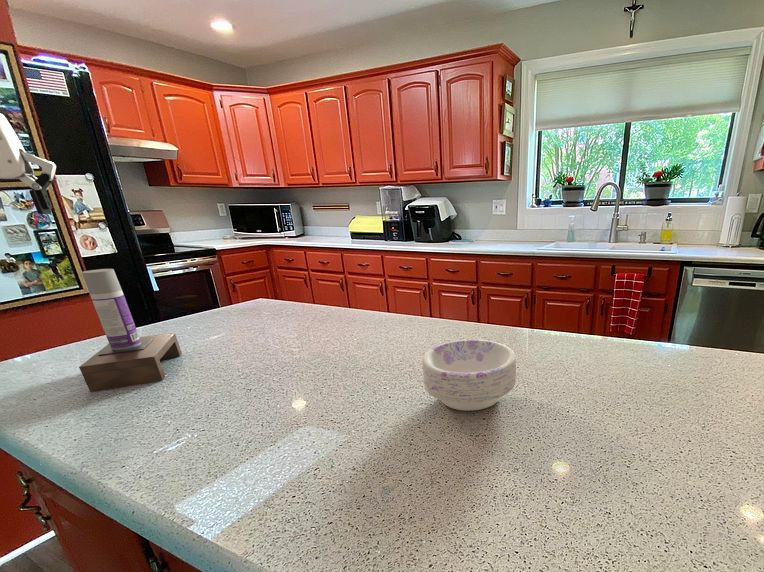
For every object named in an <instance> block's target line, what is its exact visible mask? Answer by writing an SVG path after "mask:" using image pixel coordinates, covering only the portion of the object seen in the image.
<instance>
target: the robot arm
mask: <svg viewBox="0 0 764 572" xmlns="http://www.w3.org/2000/svg"><path fill="white" fill-rule="evenodd" d="M32 164H33V165H36V166H39V167H40V168H41V173H40V175H38V177H36V176H35V171H34V169H33V165H32ZM56 169H57V165H56V164H55V163H54V162H52V161H49V160H47V159H45V158H42V157H39V156H36V155H33V154H31V153H29V152H26V150H25V148H24V146H23V144H22V142H21V140H20V139H19V137H18V135H17V134H16V132H15V130H14V128H13V127H12V125H11V123H10V121H9V120H8V118H7V117H6V116H5V115H4V114H3V113H0V180H20V181H21V182H22V183H24V184H25V185H27V186H28V187H30V189H29V191H28V193H29V195H30V198H31V200H32V203H33V205H34V207H35V209H36V212H37V214H39V215H52V213H53V212H52V210H53V205H52V202H51V200H50V198H49V194H48V192H47V191H48V190H49V187H50V185H51V184H52V183H53V182H54V181H55V174H56Z"/></svg>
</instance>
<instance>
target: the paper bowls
mask: <svg viewBox="0 0 764 572" xmlns="http://www.w3.org/2000/svg"><path fill="white" fill-rule="evenodd" d="M421 364H422V376H423V386H424V389H425V391H426V392H427V393H428V395H429V396H431V397H433V398H435V399H437V400H440V402H441V403H442V404H443V405H445V406H447V407H448V408H451V409H452V410H453V409H454V410H457V411H464V412H465V411H468V412H470V411H471V412H472V411H473V412H474V411H480V410H485V409H488V408H489V407H492V406H493V405H495V404H496V403H498V402H499V400H501V398H502V397H503V396H505V395H507V394H509V393H510V392H511V391H513V389H514V388H515V385H516V381H517V356H516V353H515V351H514V350H513V349H512V348H511V347H509V346H507V345H505V344H503V343H500V342H498V341H497V342H496V341H492V340H485V339H460V340H453V341H448V342H443V343H441V344H438V345H435V346H433V347H431V348H429V349H428V350H427V351H426V352H425V353H424V354H423V356H422V359H421Z"/></svg>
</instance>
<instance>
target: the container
mask: <svg viewBox="0 0 764 572" xmlns="http://www.w3.org/2000/svg"><path fill="white" fill-rule="evenodd" d="M81 274H82V276H83V279H84V282H85V285H86V288H87V291H88V293H89V296H90V299H91V302H92V305H93V307H94V310H95V312H96V314H97V316H98V319H99V321H100V324H101V327H102V329H103V331H104V334H105V336H106V339H107V341H108V344H110V347H111V349H112V350H125V349H130V348H134V347H137V346H139V345H141V341H140V338H139V337H140V335H139V332H138V330H137V327H136V324H135V321H134V319H133V316H132V314H131V311H130V308H129V305H128V302H127V300H126V297H125V294H124V292H123V289H122V286H121V284H120V281H119V280H118V277H117V274H116V272H115V269H114V268H100V269H99V268H97V269H90V270H84V271H82V272H81Z"/></svg>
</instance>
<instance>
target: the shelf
mask: <svg viewBox="0 0 764 572" xmlns="http://www.w3.org/2000/svg"><path fill="white" fill-rule="evenodd" d="M139 338H140V341H141V345H139V346H137V347H134V348H130V349H125V350H112V349H111V347H110V344H109V343H107V345H105V346H104V347H103V348H101V349H100V350H99V351H98V352H96V353H95V354H94V355H92V356H91V357H90V358H89V359H87V360H86V361H84V362H83V363H82V364H80V366H78V369H79V371H80V374H81V375H82V378H83V380H84V382H85V384H86V386H87V389H88V391H89V392H90V393H93V392H98V391H99V392H100V391H105V390H111V389H118V388H125V387H130V386H136V385H143V384H149V383H156V382H161V381H164V379H165V378H166V375H165V372H164V369H163V366H162V363H161V360H165V359H171V358H178V357H181V356H182V354H183V353H182V350H181V347H180V344H179V341H178V337H177V334H176V332H170V333H161V334H153V335H147V336H146V335H145V336H139Z"/></svg>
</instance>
